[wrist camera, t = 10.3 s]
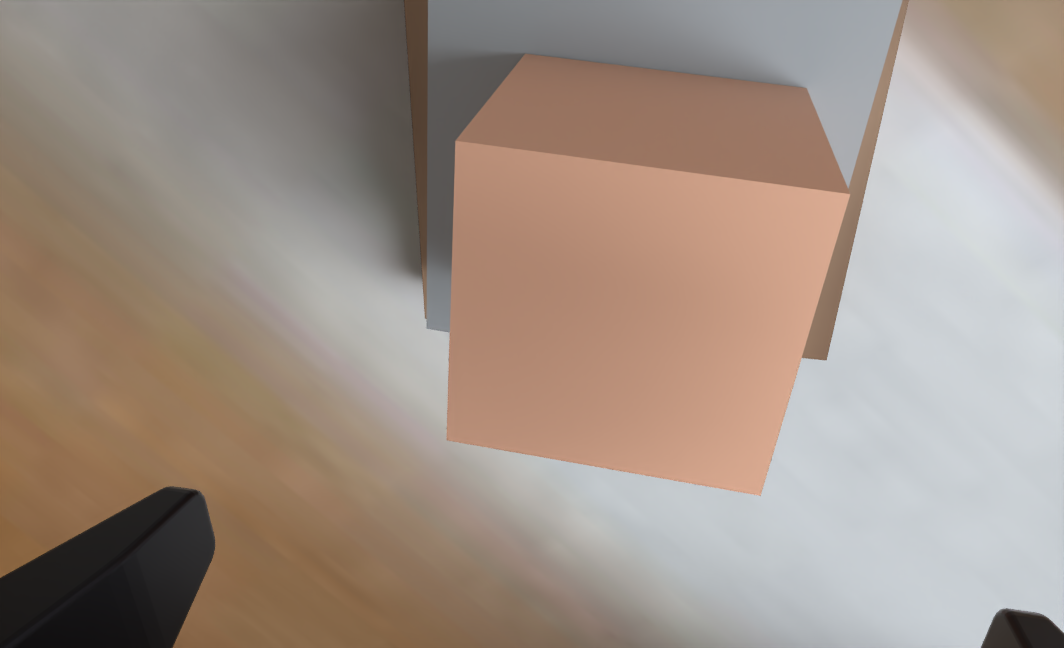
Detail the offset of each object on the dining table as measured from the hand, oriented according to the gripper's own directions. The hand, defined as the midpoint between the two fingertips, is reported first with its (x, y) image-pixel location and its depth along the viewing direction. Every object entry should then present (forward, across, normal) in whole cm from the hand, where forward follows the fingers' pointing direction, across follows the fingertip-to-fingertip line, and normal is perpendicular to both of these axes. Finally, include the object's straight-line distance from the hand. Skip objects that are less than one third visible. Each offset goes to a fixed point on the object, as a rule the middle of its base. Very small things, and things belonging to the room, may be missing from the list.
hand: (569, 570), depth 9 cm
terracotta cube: (+8, 0, -1) cm, 9 cm away
